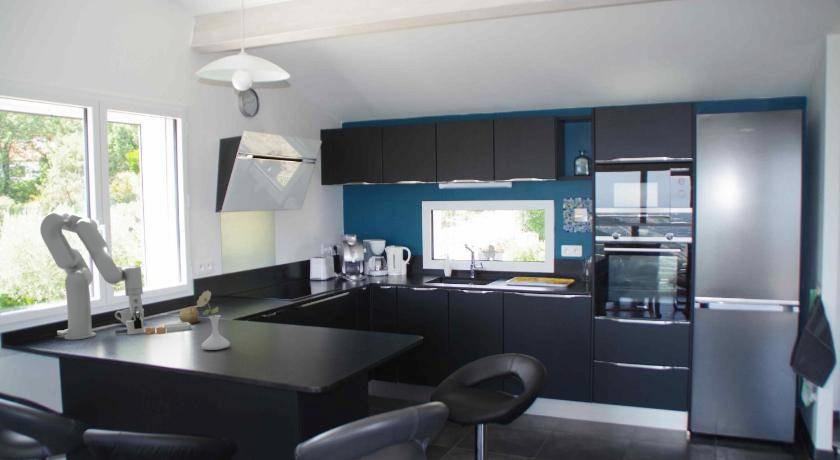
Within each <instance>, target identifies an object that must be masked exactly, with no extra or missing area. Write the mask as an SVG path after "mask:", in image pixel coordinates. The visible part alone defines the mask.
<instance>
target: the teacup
mask: <svg viewBox="0 0 840 460" xmlns="http://www.w3.org/2000/svg"><path fill="white" fill-rule="evenodd" d="M142 309H143V315H141V314H140V317H141V319H142V320H143V321H144V319H145V315H144V314H145V313H144V312H145V309H144V308H142ZM118 314H120V316H119V315H118ZM114 317H115V319H117V320H118V321H120V322H121V323H122V324H123V325H125V326H126V327H127V325H126V321H130V320H132V315H131V313H130V308H125V309H122V310H118V311H116V312H115V313H114Z"/></svg>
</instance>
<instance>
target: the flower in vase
mask: <svg viewBox="0 0 840 460" xmlns="http://www.w3.org/2000/svg"><path fill="white" fill-rule="evenodd" d="M211 296H212V292H211V291H210V290H205V291H203V292H202V293H201V295H200V296H199V297H198V298H199V299H197V301H196V306H197V307H200V308H202V307H204V306H205V305H207V306H208V308H209V309H206V310H204V311H203V312H202V315H203V316H206V315H208V314H209V313H211V314H212V315H209V316H208V319H210V322H211V328H212V331H211V334H210V336H209V337H207V338H206V339H205V340H204V341H203V343H202V344H201V346H200V347H201V348H202V349H203V350H207V351H218V350H223V349H226V348H228V347H229V346H230V341H229V340H228V339H226V338H225V337H224V336H222V335H221V333H220V332H219V320H220V318H221V315H220V314H216V313H218V312H219V306H216V307H215V308H213V309H211V306H210V304H209V302H210V300H211ZM214 314H215V315H214Z"/></svg>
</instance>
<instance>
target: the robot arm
mask: <svg viewBox="0 0 840 460" xmlns="http://www.w3.org/2000/svg"><path fill="white" fill-rule="evenodd" d="M39 229H40V235H41V238H42V240H43V242H44V244H45V246H46V247H47V249H48V252H49V253H50V255H51V256H52V259H53V261H54V263H55V264H56V265H57V267H58V268H59V269H61V270H64V271H65V273H66V277H65V279H64V286H65V287H64V288H65V291H66V292H65V294H66V307H67V329H64V330H57V331H56V332H57V333H56V334H57V336H64V339H65V340H83V339H89V338H93V337H95V336H96V335H97V334H96V332H94V331H92V330H93V329H92V307H91V306H92V305H91V294H90V293H91V292H90V285H91V284H92V282H93V274H92V271H91V269H90V268H89V266H88V265H87V262H86V260H85V259H84V257H83V255H82V253H80V251H79V250H78V249H75V248H72V246H71V244H70V243H69V241H68V239H67V237H66V236H65V235H64V234H63V230H65V231H67V232H71V233H75V234H76V235H77V237H78V238H79V240H80V241H81V243H82V244H83V245H84V247H85V249H86V250H87V252H88V253H89V255H90V258H91V259H92V261H93V263H94V266H95V268H96V269H97V271H99V274H100V275H101V277H102V278H103V280H104V281H105V282H106V283H107V284H109V285H116V284H119V283H120V282H124V292H125V296H126V297H128V305H129V309H130V313H131V315H132V320H134V329H140V328H142V324H141V317H140V314H141V315H143V309H144V308H143V302H142V301H143V300H142V295H144V293H143V292H144V291H143V290H144V289H143V280H142V278H143V277H142V268H141V266H139V265H131V266H130V265H129V266H117V265H116V264H115V262H114V260H113V258H112V256H111V254H110V250H109V245H108V244H107V242H106V240H105V239H104V238H103V236H102V234H101V232H100V231H99V230H98V224H97V222H96V221H95V220H94V219H92V218H89V217H86V216H82V215H78V214H74V213H72V212H67V211H65V210H63V211H62V210H55V211H52V212H50V213H48V214H47V215H46V216H45V217H44V218H43V219H42V222H41V224H40V228H39Z"/></svg>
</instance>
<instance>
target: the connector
mask: <svg viewBox="0 0 840 460" xmlns="http://www.w3.org/2000/svg"><path fill="white" fill-rule="evenodd" d="M141 324H142V328H140V329H134V320H130V321H126V325H127V326H126V325H125V326H126V328H124V329H116V330H115V331H114V332H115V335H120V334H127V335H135V334H145V333H144V332H145V331H144V330H145V329H144V320H142V319H141Z"/></svg>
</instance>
